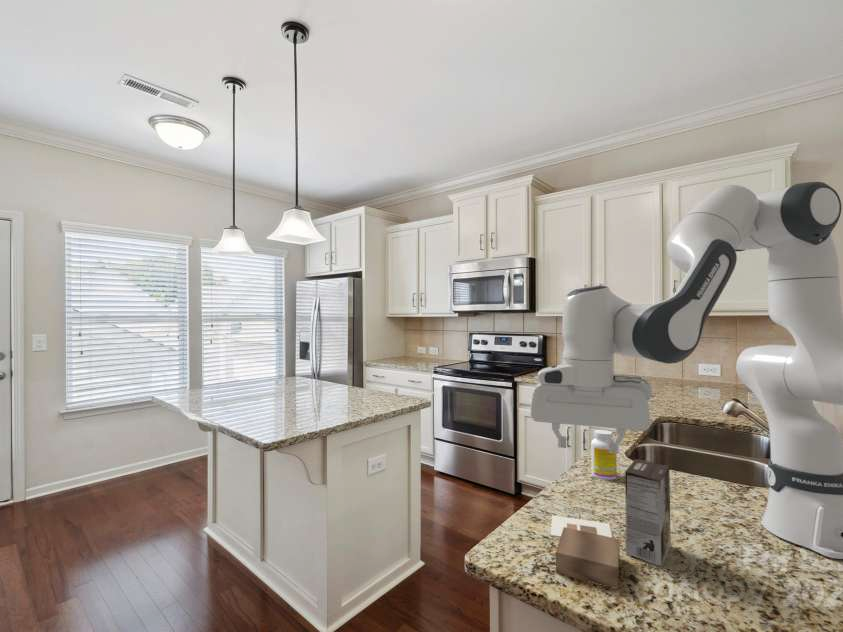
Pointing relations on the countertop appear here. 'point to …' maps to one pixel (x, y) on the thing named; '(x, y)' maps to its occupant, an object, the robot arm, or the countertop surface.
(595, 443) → the supplement bottle
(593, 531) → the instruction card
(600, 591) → the countertop surface
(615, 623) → the countertop surface
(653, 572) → the countertop surface
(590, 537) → the base block
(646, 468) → the coffee box
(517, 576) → the countertop surface
